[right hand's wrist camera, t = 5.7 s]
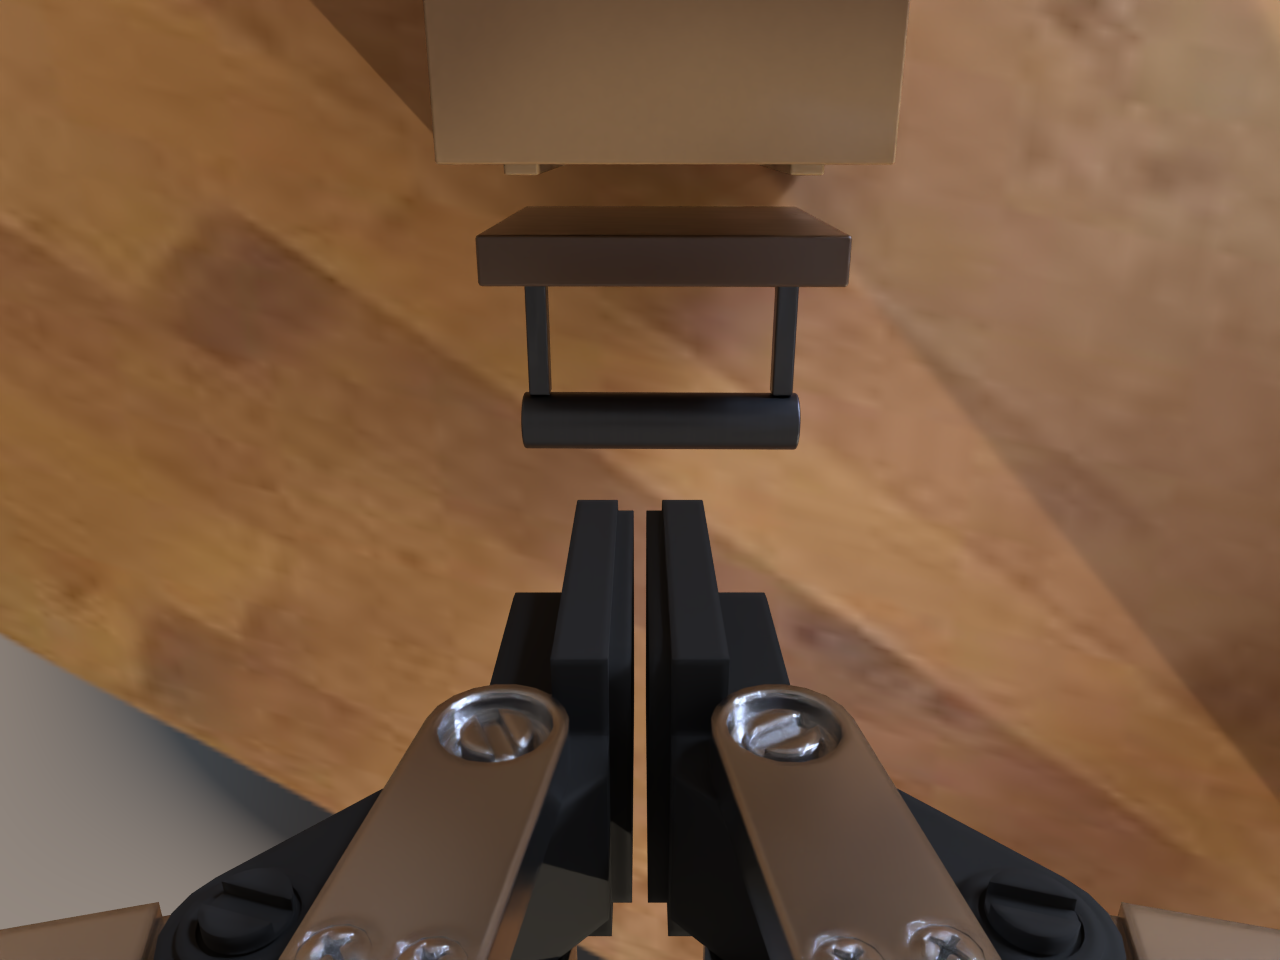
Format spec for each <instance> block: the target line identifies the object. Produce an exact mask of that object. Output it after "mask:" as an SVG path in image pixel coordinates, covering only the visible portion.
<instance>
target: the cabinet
mask: <svg viewBox="0 0 1280 960" xmlns="http://www.w3.org/2000/svg"><path fill="white" fill-rule="evenodd" d="M423 6H424V19H425V32H426V45H427V59H428V72H429V85H430V98H431V111H432V125H433V138H434V151H435V162H436V163H437V164H894V162H895V156H896V145H897V134H898V124H899V113H900V103H901V92H902V81H903V71H904V60H905V50H906V39H907V28H908V18H909V7H910V0H423Z"/></svg>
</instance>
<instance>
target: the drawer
mask: <svg viewBox="0 0 1280 960" xmlns="http://www.w3.org/2000/svg"><path fill="white" fill-rule="evenodd" d="M562 165H565V164H504V173H505V174H506V175H538V174H540V173H543V172H546V171H548V170H551V169H554V168H557V167H559V166H562ZM759 165H762V166H765V167H768V168H771V169H774V170H777V171H781V172H784V173H787V174H790V175H822V174H823V173H824V164H759ZM851 246H852V238H851V236H849V235H847V234H845V233H844V232H842V231H840V230H838V229H836V228H834V227H832V226H831V225H829V224H827V223H825V222H823V221H821V220H819V219H817V218H816V217H814V216H812V215H810V214H808V213H806V212H804V211H803V210H801V209H799V208H797V207H525V208H523V209H522V210H520V211H518V212H516V213H515V214H513V215H511V216H510V217H508V218H506V219H505V220H503V221H501V222H499V223H498V224H496V225H494V226H493V227H491V228H489V229H487V230H486V231H484V232H482V233H481V234H479V235H477V236H476V254H477V270H478V283H479V285H481V286H525V307H526V330H527V352H528V374H529V392H526V393H525V394H524V396H523V401H522V411H521V427H522V439H523V444H524V446H525V448H592V449H796V448H797V445H798V442H799V436H800V403H799V398H798V395H797V394H796V393H792V391H793V375H794V359H795V343H796V327H797V310H798V294H799V287H846V286H847V285H848V283H849V270H850V258H851ZM548 286H612V287H775V303H774V323H773V342H772V361H771V380H770V391H771V393H655V392H551V389H552V387H551V359H550V331H549V303H548Z"/></svg>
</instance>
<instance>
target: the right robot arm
mask: <svg viewBox="0 0 1280 960" xmlns="http://www.w3.org/2000/svg"><path fill="white" fill-rule="evenodd" d="M633 757H634V511H618V500H578V501H577V505H576V511H575V517H574V523H573V529H572V535H571V541H570V547H569V553H568V559H567V564H566V570H565V576H564V582H563V588H562V593H515V595H514V598H513V601H512V605H511V609H510V613H509V616H508V620H507V624H506V627H505V631H504V635H503V638H502V642H501V646H500V649H499V653H498V657H497V661H496V664H495V668H494V672H493V675H492V679H491V683H490V685H489V686H483V687H478V688H473V689H470V690H467V691H465V692H462V693H459V694H457V695H454V696H452V697H451V698H449V699H448V700H446V701H445V702H443V703H441V704H440V705H438V706H437V707H436V708H435V709H434V710H433V712H432V713H431V714H430V715H429V716H428V717H427V718H426V720H425V721H424V723H423V725H422V726H421V728H420V730H419V731H418V733H417V735H416V736H415V738H414V739H413V741H412V743H411V744H410V746H409V748H408V749H407V751H406V752H405V754H404V756H403V757H402V759H401V761H400V762H399V764H398V766H397V767H396V769H395V770H394V772H393V774H392V775H391V777H390V779H389V780H388V782H387V783H386V785H385V787H384V788H383V789H381V790H379V791H377V792H376V793H374V794H372V795H370V796H368V797H366V798H364V799H362V800H361V801H359V802H357V803H355V804H353V805H351V806H349V807H347V808H346V809H344V810H342V811H340V812H338V813H336V814H334V815H332V816H331V817H329V818H327V819H325V820H323V821H321V822H319V823H317V824H316V825H314V826H312V827H310V828H308V829H306V830H304V831H302V832H301V833H299V834H297V835H295V836H293V837H291V838H289V839H287V840H286V841H284V842H282V843H280V844H278V845H276V846H274V847H272V848H271V849H269V850H267V851H265V852H263V853H261V854H259V855H257V856H256V857H254V858H252V859H250V860H248V861H246V862H244V863H242V864H241V865H239V866H237V867H235V868H233V869H231V870H229V871H227V872H226V873H224V874H222V875H220V876H218V877H216V878H215V879H213V880H212V881H210V882H209V883H207V884H206V885H204V886H202V887H201V888H199V889H198V890H196V891H195V892H194V893H192V894H191V895H190V896H189V897H188V898H187V899H186V900H185V901H184V902H183V903H182V904H181V905H180V906H179V907H178V908H177V909H176V910H175V911H174V912H173V913H172V914H171V915H168V916H162V914H161V910H160V905H159V902H156V903H151V904H145V905H139V906H133V907H128V908H122V909H117V910H111V911H105V912H99V913H93V914H88V915H82V916H76V917H71V918H65V919H59V920H53V921H48V922H42V923H36V924H31V925H25V926H19V927H13V928H8V929H2V930H0V960H577V944H578V943H580V942H581V941H582V940H583V939H585V938H586V937H587V936H612V915H613V903H632V854H633ZM646 758H647V854H648V903H667V915H668V936H693V937H694V938H695V939H697V940H698V941H699V942H700V943H702V944H703V960H1280V930H1278V929H1272V928H1267V927H1261V926H1255V925H1249V924H1244V923H1238V922H1232V921H1227V920H1221V919H1215V918H1209V917H1204V916H1198V915H1192V914H1187V913H1181V912H1175V911H1169V910H1164V909H1158V908H1152V907H1147V906H1141V905H1135V904H1129V903H1124V902H1121V905H1120V910H1119V914H1118V916H1112V915H1109V914H1108V913H1107V912H1106V911H1105V910H1104V909H1103V908H1102V907H1101V906H1100V905H1099V904H1098V903H1097V902H1096V901H1095V900H1094V899H1093V898H1092V897H1091V896H1090V895H1089V894H1088V893H1087V892H1085V891H1084V890H1082V889H1081V888H1079V887H1078V886H1076V885H1074V884H1073V883H1071V882H1070V881H1068V880H1067V879H1065V878H1064V877H1062V876H1060V875H1058V874H1056V873H1054V872H1053V871H1051V870H1049V869H1047V868H1045V867H1043V866H1041V865H1039V864H1038V863H1036V862H1034V861H1032V860H1030V859H1028V858H1026V857H1024V856H1023V855H1021V854H1019V853H1017V852H1015V851H1013V850H1011V849H1009V848H1008V847H1006V846H1004V845H1002V844H1000V843H998V842H996V841H994V840H993V839H991V838H989V837H987V836H985V835H983V834H981V833H979V832H978V831H976V830H974V829H972V828H970V827H968V826H966V825H964V824H963V823H961V822H959V821H957V820H955V819H953V818H951V817H949V816H948V815H946V814H944V813H942V812H940V811H938V810H936V809H934V808H933V807H931V806H929V805H927V804H925V803H923V802H921V801H919V800H918V799H916V798H914V797H912V796H910V795H908V794H906V793H904V792H903V791H901V790H899V789H897V788H896V787H895V785H894V783H893V782H892V780H891V779H890V777H889V775H888V774H887V772H886V770H885V769H884V767H883V766H882V764H881V762H880V761H879V759H878V757H877V756H876V754H875V752H874V751H873V749H872V748H871V746H870V744H869V743H868V741H867V739H866V738H865V736H864V735H863V733H862V731H861V730H860V728H859V726H858V725H857V723H856V721H855V720H854V718H853V717H852V716H851V715H850V714H849V713H848V712H847V711H846V709H845V708H844V707H843V706H842V705H840V704H839V703H837V702H835V701H834V700H832V699H831V698H829V697H828V696H826V695H823V694H821V693H818V692H815V691H813V690H810V689H807V688H802V687H797V686H791V685H790V683H789V679H788V675H787V672H786V668H785V664H784V661H783V657H782V653H781V649H780V646H779V642H778V638H777V635H776V631H775V627H774V624H773V620H772V616H771V613H770V609H769V605H768V601H767V598H766V595H765V593H718V588H717V582H716V576H715V570H714V564H713V559H712V553H711V547H710V541H709V535H708V529H707V523H706V517H705V511H704V505H703V501H702V500H662V511H646Z"/></svg>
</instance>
